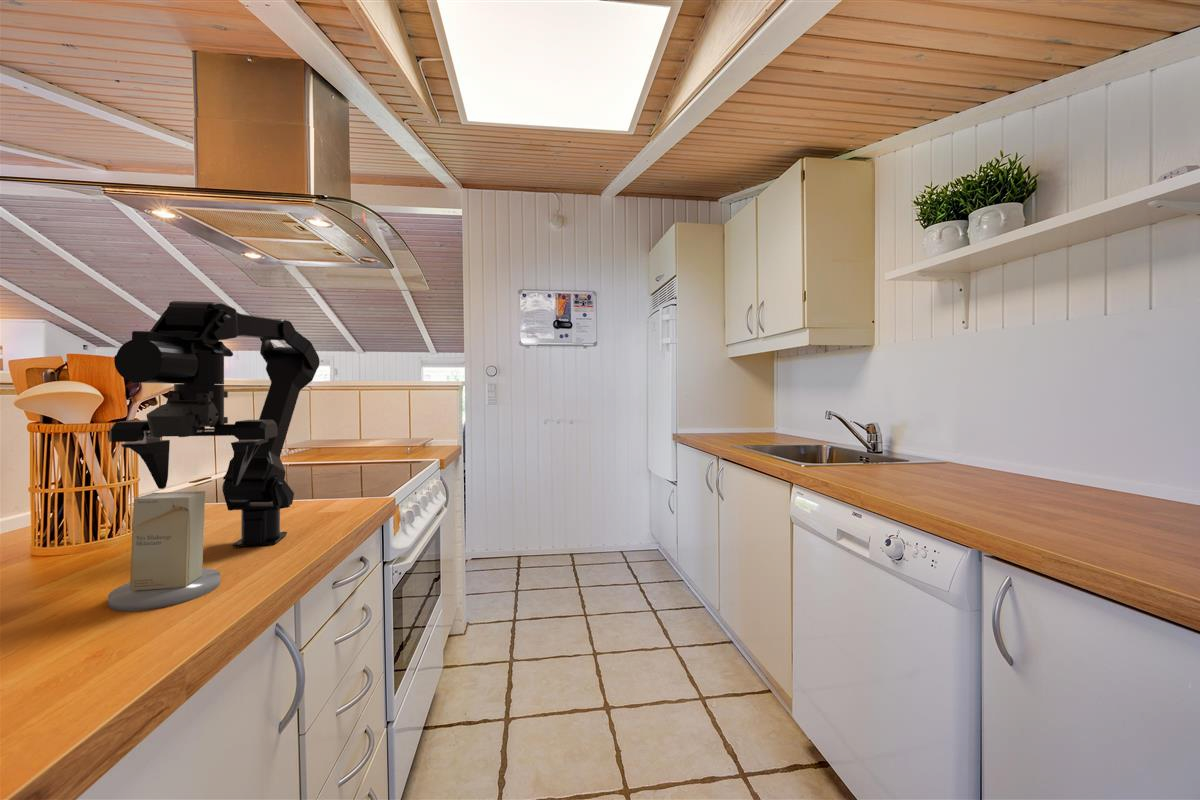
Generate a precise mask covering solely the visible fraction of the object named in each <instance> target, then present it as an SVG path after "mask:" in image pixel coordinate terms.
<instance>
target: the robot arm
mask: <svg viewBox="0 0 1200 800" xmlns="http://www.w3.org/2000/svg"><path fill="white" fill-rule="evenodd" d="M238 337H242V338H243V337H244V338H256V339H260V342H261V346H260V351H259V353H260V355H261V356H262V358H263V359H264V361H265V363H266V366H265V371H266V373H267V376H268V377H269V380H270V386H269V389H268V391H267V395H266V397H265V399H264V403H263V406H262V410H261V412H260V415H259V419H244V420H238V421H237V420H236V421H234V422H235V423H229V420H228V419H229V418H228V416H225V398H227V399H228V397H229V392H228V390H227V391H225V357H229V358H230V357H233V356H234V352H233V351H232V350H231V349H230V348H228V346H226V345H225V344H224V342H223V341H224V340H230V339H235V338H238ZM271 341H284V342H285V343H286V344H287V345H288V346H276V347H275V346H274V345H273V343H272V342H271ZM113 362H114V368H115V369H116V371H117V373H118V374H119V376H121V377H122V378H123V379H125V380H127V381H129V382H131V383H136V384H137V383H138V384H169V385H170V384H173V390H168V394H167V400H166V403H164V404H162V405H158V406H157V407H156V408H154V409H153V410H151V411H149V412H147V414H146V419H145V420H144V419H140V420H139V419H138V420H135V419H134V420H124V421H115V423H114V424H113V425H112V426H111V427H110V429H109V430H108V431H109V432H108V433H109V437H108V438H109V442H110V443H121V447H122V449H130V450H132V451H133V452H135V453H136V454H138V455H139V456H140V458H141V459H142V461H143V462H144V463H145V465H146V467H147V469H148V471H149V473H150V475H151V477H152V478H153V481H154V482H155V484H156V487H157V489H159V490H163V489H166V488H167V484H168V479H169V468H170V467H169V466H170V463H169V462H170V445H171V444H170V442H171V441H170V439H161V438H162V437H163V438H164V437H178V438H186V437H187V438H188V437H226V436H227V437H229V436H233V437H235V438H236V439H237V441H232V442H230V444H231V448H232V451H233V457H232V458H231V459H230V460H229V463H228V467H227V470H226V473H225V474H224V476H223V477H222V480H224V481H223V483H222V486H221V490H222V493H223V497H224V500H225V504H226V505H225V506H226V507H227V511H241V515H240V516H241V525H240V526H241V528H240V533H241V535H240V536H241V538H239V539H238V540H237V541H235V542H234V543H232V547H233V548H237V547H238V548H239V547H253V546H267V545H274V544H277V543H278V542H279V541H281V540H282V539H283V538H284V537H286V536H287V535H286V534H288V531H281V509H287V508H290V507H291V505H293V503H294V502H293V501H294V497H295V496H294V495H295V492H294V491H293V489H291V488H292V487H290V485H289V484H288V483H287V481H286V480H285V478H286V473H287V472H286V469H285V466H284V464H283V462H282V459H281V455H282V451H283V447H284V444H285V443H286V442H285V441H286V438H287V434H288V432H289V428H290V425H291V421H292V418H293V415H294V410H295V408H296V405H297V401H298V398H299V394H300V391H302V390H303V389H304V388H305V387H307V386H308V384H310V383H311V382H312V381H313V380H314V377H315V375H316V372H317V370H318V369H319V366H320V357H319V354H318V352H317V350H316V349H315V347H314V345H313V343H312V342H311V341H310V340H309V339H307V338H306V337H305V336H304V335H302V334H301V333H300V332H298V331H297V330H296V329H295V327H294V325H293V323H292V322H291V321H290V320H287V319H286V318H285V319H284V318H270V317H262V316H256V315H250V314H245V313H244V314H242V313H239V312H237V309H236V308H234V307H232V306H230V305H227V304H225V303H223V302H220V301H218V302H217V301H194V300H191V301H189V300H172V301H170V302H169V304H168V306H167V308H166V310H164V311H163V313H162V314H161V316H160V317H159V318H158V319H157V321H156V323H155V324H154V325H153V327H152V328H151V329H150V330H149V331H148V330H146V331H145V330H132V332H131V340H129V341H126V342H125V343H123V344H122V345H121V346H120V347H119V349H118V351H117V353H116V355H114V359H113ZM208 427H209V428H208ZM282 537H283V538H282ZM281 538H282V539H281Z"/></svg>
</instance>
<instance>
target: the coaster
mask: <svg viewBox="0 0 1200 800" xmlns="http://www.w3.org/2000/svg"><path fill="white" fill-rule="evenodd" d="M220 584H221V573H220V571H219V570H217V569H212V568H203V567H202V576H201V577H199V578H198V579H196V580H195V581H193V582H192V583H190V584H188V585H187V586H185V587H179V588H165V589H151V590H137V591H130V581H129V582H127V583H123V584H122V585H119V586H118V587H116V588H115V589H112V590H111V591H110V592H109V593H108V595H107V607H108V609H110V610H113V611H116V612H139V611H141V612H143V611H149V610H154V609H161V608H165V607H169V606H174V605H177V604H181V603H184V602H185V603H186V602H189V601H192V600H194V599H198V598H199V597H201V596H204V595H206V594H208V593H210V592H212V591H214V590H215V589H217V588H218V586H219V585H220Z"/></svg>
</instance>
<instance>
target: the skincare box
mask: <svg viewBox="0 0 1200 800" xmlns="http://www.w3.org/2000/svg"><path fill="white" fill-rule="evenodd" d="M205 502H206V491H205V490H203V491H202V490H201V491H174V492H173V491H170V492H169V491H168V492H167V491H166V492H151V493H148V494H145V495H142V496H139V497H134V498H133V507H132V508H133V509H132V527H131V528H132V529H131V531H132V532H131V557H130V558H131V559H130V577H129V578H130V580H129V582H130V591H137V590H151V589H165V588H179V587H185V586H187V585H188V584H190V583H192V582H193V581H195V580H196V579H198V578H199V577H201V576H202V568H203V560H204V559H203V557H204V537H205V536H204V534H205V533H204V532H205V530H204V529H205V528H204V527H205V507H206V506H205V504H206V503H205Z"/></svg>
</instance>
